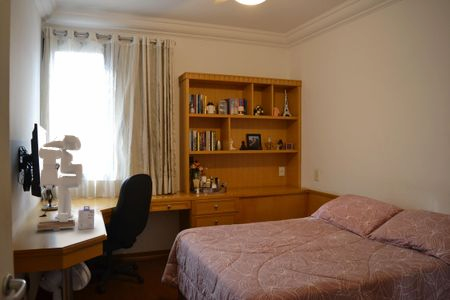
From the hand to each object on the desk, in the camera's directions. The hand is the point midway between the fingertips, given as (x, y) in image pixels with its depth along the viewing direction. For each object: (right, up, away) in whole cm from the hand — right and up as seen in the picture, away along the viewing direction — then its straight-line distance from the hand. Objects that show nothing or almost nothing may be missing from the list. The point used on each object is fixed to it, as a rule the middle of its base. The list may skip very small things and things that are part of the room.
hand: (48, 195), depth 221 cm
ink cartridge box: (+21, -24, +9) cm, 33 cm away
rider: (+8, -19, +4) cm, 21 cm away
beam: (+4, -23, +2) cm, 23 cm away
